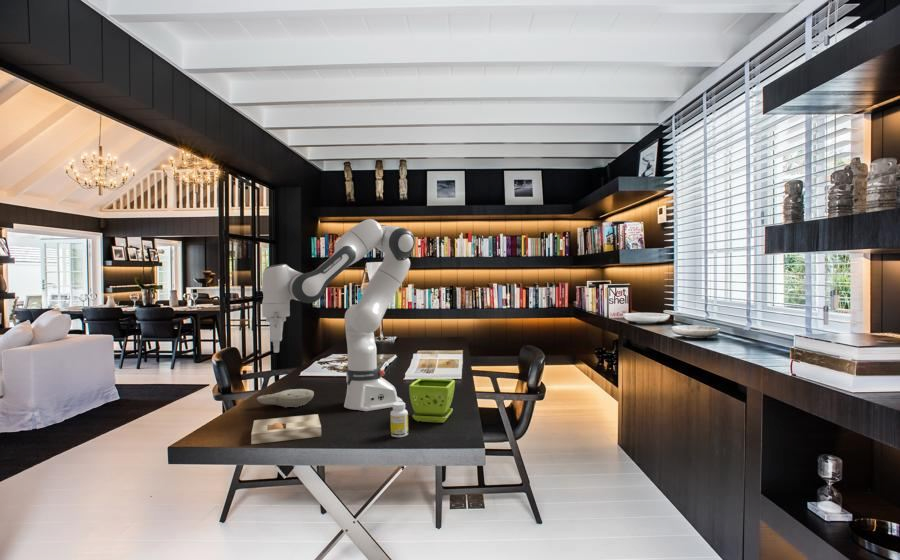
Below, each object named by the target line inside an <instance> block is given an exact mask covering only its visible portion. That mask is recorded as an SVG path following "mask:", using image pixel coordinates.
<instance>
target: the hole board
mask: <svg viewBox="0 0 900 560" xmlns="http://www.w3.org/2000/svg"><path fill="white" fill-rule="evenodd" d="M274 423H280V424H282V426H283V429H275V430H270V427H271V426H272V425H273V424H274ZM250 435H251V439H250V440H251V441H250V444H251V445H258V444H267V443H276V442H284V441H292V440H302V439H308V438H309V439H311V438H317V437H318V438H320V437H322V424H321V421H320V417H319V414H318V413H317V414H315V413H314V414H305V415H296V416H295V415H294V416H287V417H286V416H285V417H284V416H283V417H277V418H275V417H274V418H267V419H265V418H264V419H256V420H255V419H254V420H253V424H252V430H251V434H250Z"/></svg>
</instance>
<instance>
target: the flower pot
mask: <svg viewBox="0 0 900 560" xmlns="http://www.w3.org/2000/svg"><path fill="white" fill-rule="evenodd" d="M455 385H456V381H455V380H454V379H446V378H445V379H443V378H417V379H416V380H415V381H412V382H411V384H409V386H408V390H409V391H408V392H409V393H408V394H409V399H410V403H411V407H412V410H413V412H414V413H413V414H412V416H411V417H412V418H413V420H415V421H416V422H420V421H421V422H426V423H441V424H442V423H445V422H446V420H447V419H448V418H449V417H450V415H451V414H452V413H453V411H454V410H453V408H450V407H451V404H452V402H453V398H454V393H455V387H456V386H455Z"/></svg>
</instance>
